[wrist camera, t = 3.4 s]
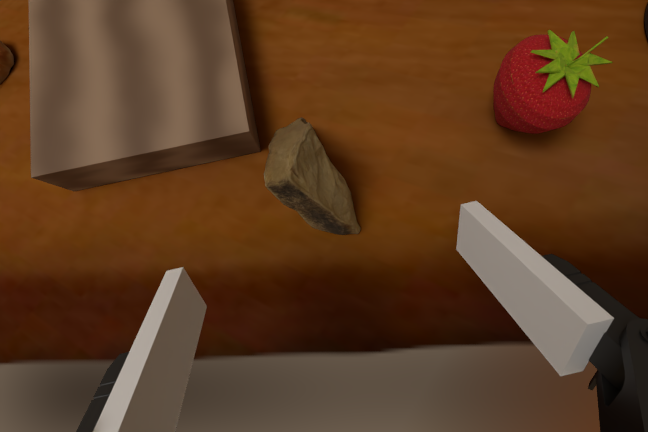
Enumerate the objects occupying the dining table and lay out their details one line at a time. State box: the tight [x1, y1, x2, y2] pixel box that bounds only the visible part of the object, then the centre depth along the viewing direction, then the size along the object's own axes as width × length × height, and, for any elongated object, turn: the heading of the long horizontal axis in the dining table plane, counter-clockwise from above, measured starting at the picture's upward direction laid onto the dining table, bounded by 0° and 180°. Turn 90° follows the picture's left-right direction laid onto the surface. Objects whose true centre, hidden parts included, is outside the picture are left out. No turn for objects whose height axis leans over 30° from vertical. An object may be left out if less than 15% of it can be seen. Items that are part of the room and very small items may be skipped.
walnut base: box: [29, 0, 261, 191], centre depth 28 cm, size 18×18×4 cm
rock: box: [264, 118, 361, 235], centre depth 24 cm, size 11×9×10 cm
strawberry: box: [494, 30, 612, 134], centre depth 23 cm, size 6×8×10 cm
